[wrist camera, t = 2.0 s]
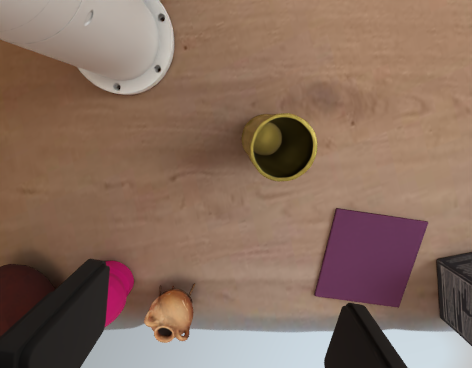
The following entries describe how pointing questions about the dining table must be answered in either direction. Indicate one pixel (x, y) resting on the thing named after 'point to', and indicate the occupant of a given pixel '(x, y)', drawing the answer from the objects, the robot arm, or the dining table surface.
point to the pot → (170, 315)
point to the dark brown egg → (20, 292)
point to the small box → (456, 293)
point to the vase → (280, 145)
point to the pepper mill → (117, 289)
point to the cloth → (369, 257)
